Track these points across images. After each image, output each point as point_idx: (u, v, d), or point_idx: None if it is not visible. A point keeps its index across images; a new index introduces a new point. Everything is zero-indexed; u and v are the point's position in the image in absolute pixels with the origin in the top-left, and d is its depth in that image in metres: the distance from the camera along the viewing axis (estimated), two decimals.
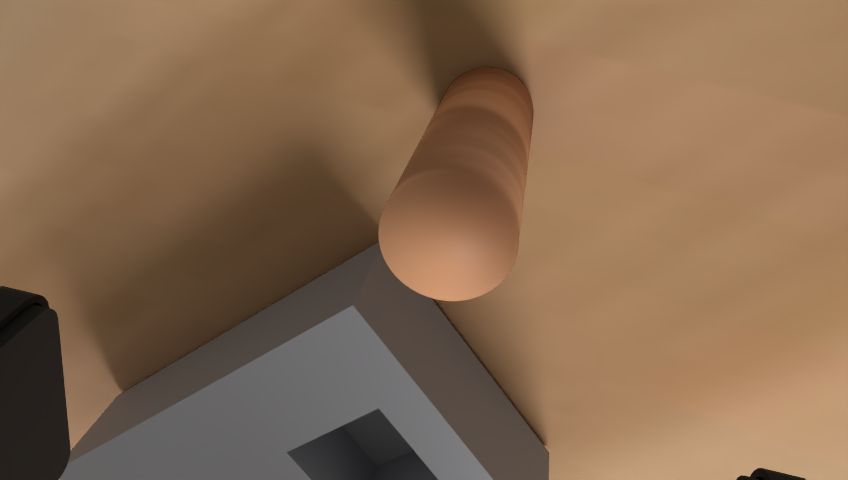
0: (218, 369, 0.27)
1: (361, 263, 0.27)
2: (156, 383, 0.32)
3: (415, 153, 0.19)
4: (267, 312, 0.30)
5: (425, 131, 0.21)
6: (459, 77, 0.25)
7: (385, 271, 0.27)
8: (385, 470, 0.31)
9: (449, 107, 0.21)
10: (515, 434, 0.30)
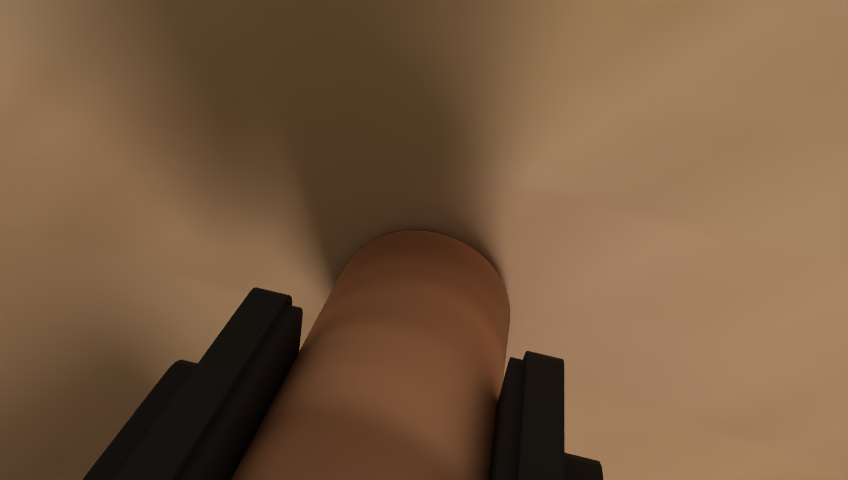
0: None
1: None
2: None
3: None
4: None
5: (241, 461, 0.09)
6: (364, 250, 0.13)
7: None
8: None
9: (303, 394, 0.09)
10: None
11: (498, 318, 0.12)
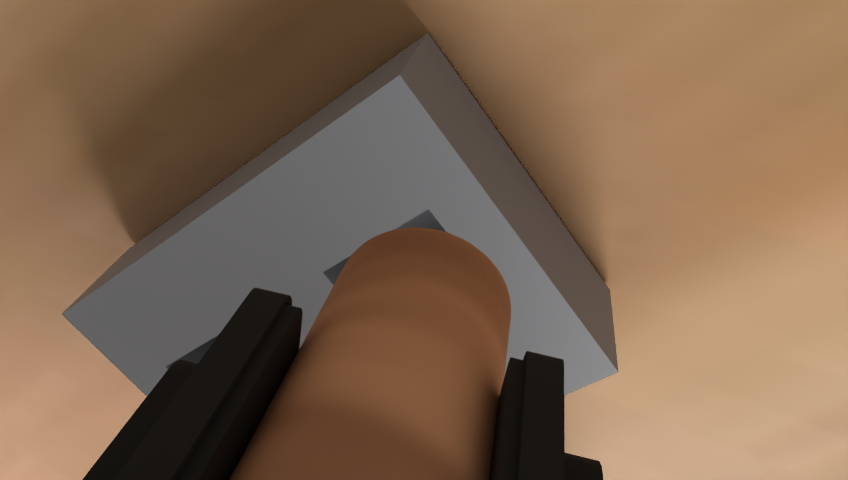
0: (243, 180, 0.24)
1: (402, 55, 0.24)
2: (172, 221, 0.28)
3: None
4: (294, 131, 0.27)
5: (241, 458, 0.09)
6: (364, 247, 0.13)
7: (430, 61, 0.23)
8: None
9: (303, 390, 0.09)
10: (575, 260, 0.26)
11: (499, 315, 0.12)
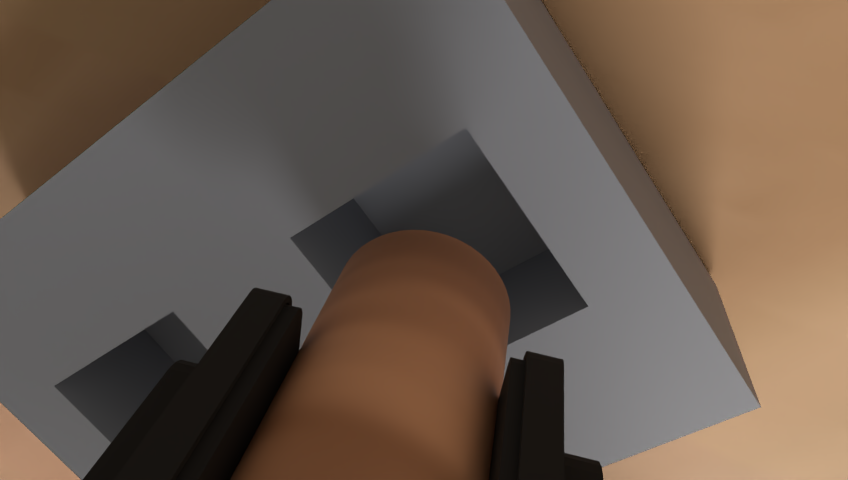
0: None
1: None
2: None
3: None
4: None
5: (240, 461, 0.09)
6: (364, 250, 0.13)
7: None
8: None
9: (302, 394, 0.09)
10: (677, 235, 0.17)
11: (498, 318, 0.12)
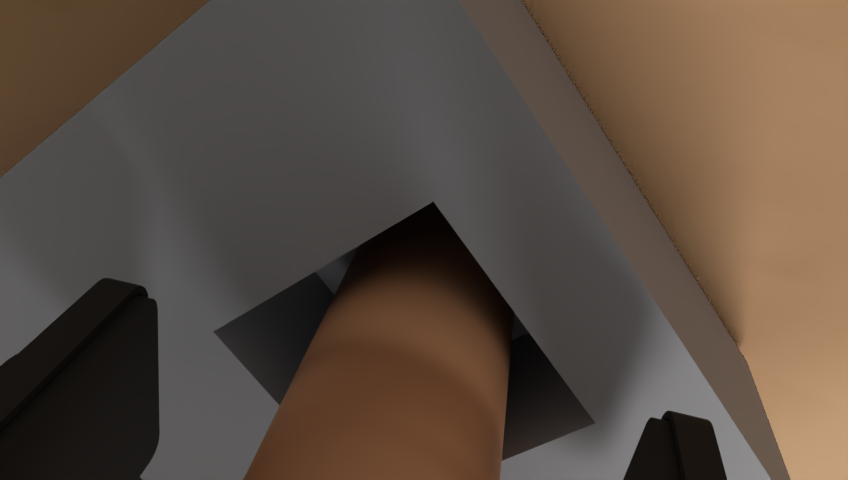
0: None
1: None
2: None
3: None
4: None
5: (289, 388, 0.10)
6: None
7: None
8: None
9: (342, 331, 0.10)
10: (704, 311, 0.14)
11: None
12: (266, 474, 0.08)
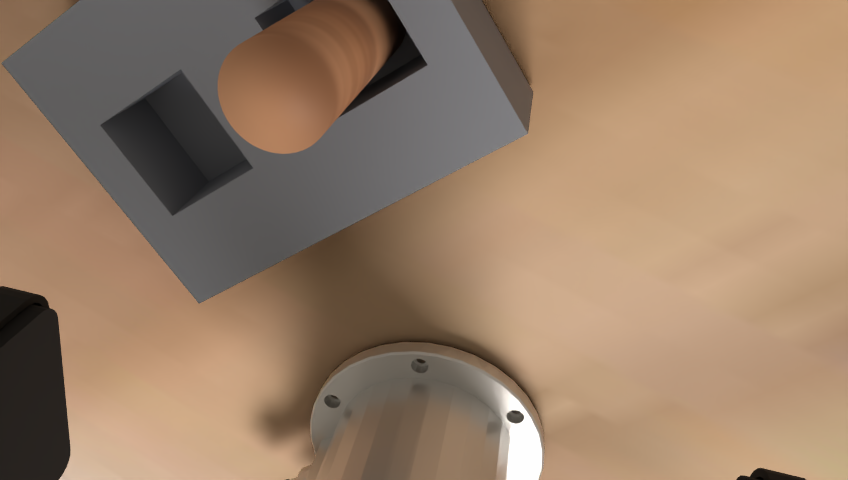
0: None
1: None
2: None
3: None
4: None
5: None
6: None
7: None
8: (359, 93, 0.29)
9: (312, 1, 0.24)
10: (499, 45, 0.28)
11: None
12: None
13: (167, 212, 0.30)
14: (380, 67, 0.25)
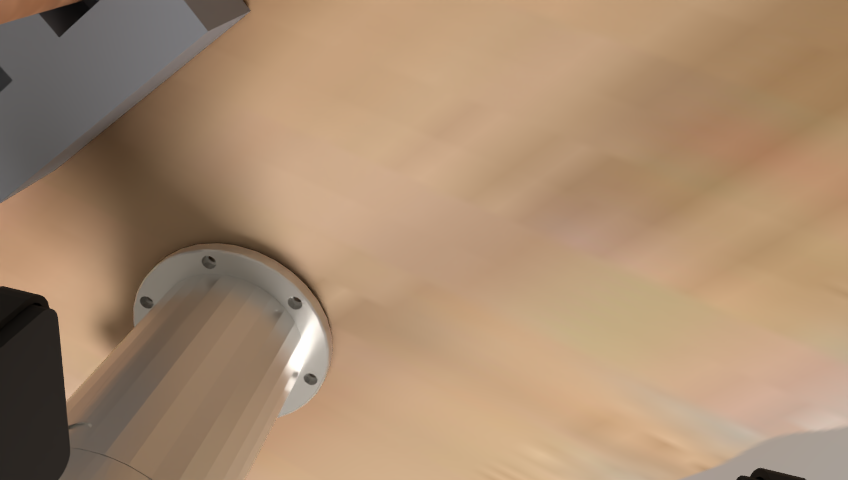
0: None
1: None
2: None
3: None
4: None
5: None
6: None
7: None
8: None
9: None
10: None
11: None
12: None
13: None
14: None
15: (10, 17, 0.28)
